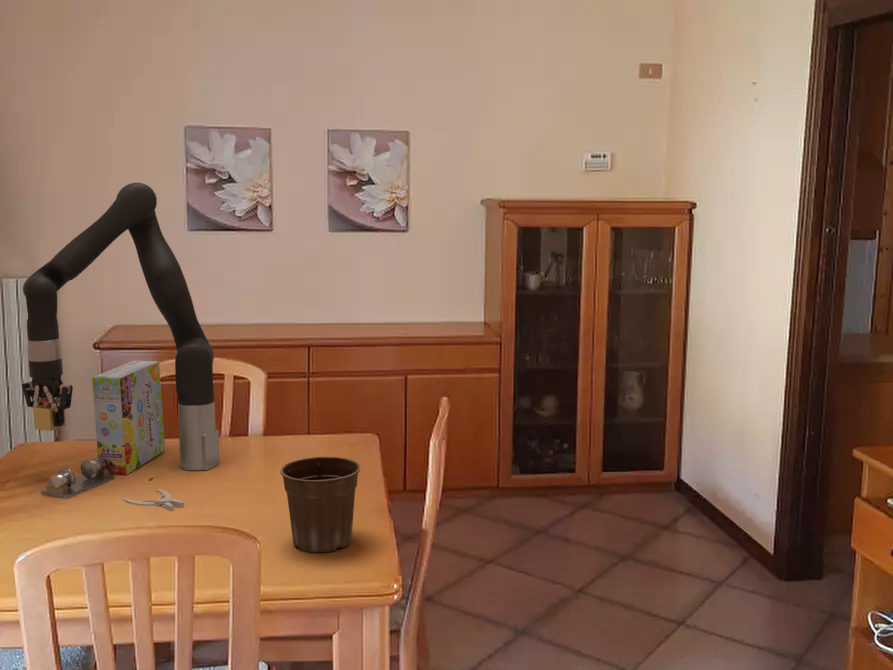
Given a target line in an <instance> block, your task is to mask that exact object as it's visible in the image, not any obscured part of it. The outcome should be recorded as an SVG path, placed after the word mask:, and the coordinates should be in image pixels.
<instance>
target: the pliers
mask: <svg viewBox="0 0 893 670" xmlns="http://www.w3.org/2000/svg"><path fill="white" fill-rule="evenodd" d="M155 491H156V492H158V493H160V494H161V495H160V496H159V497H158V499H156V500H152V499H151V500H149V499H148V500H146V499H145V500H139V501H138V500H133V499H129V498H127V497H126V498H125V497H124V498H122V500H123V502H125V503H127V504H131V505H136V506H144V507H147V506H148V507H150V506H153V507H160V506H161V507H162V508H163V509H164V510H168V511H170V512H173V511H174V510H175V509H174V508H179V509H183V508H185V505H184V503H185V502H184V501H182V500H178V499H175V498H172V496H171V494H170V493H169V492H168V491H166V490H163V489H159V488H156V489H155Z"/></svg>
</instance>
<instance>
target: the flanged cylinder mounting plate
mask: <svg viewBox="0 0 893 670" xmlns="http://www.w3.org/2000/svg"><path fill="white" fill-rule="evenodd" d="M79 470H80V473H81V474H80V475H78V476H76V474H75V472H74V471H73V470H72V468H69V467H64V468H61V469H60V470H59V471H58V472H57V474H54V475H52V476H49V478H48V484H46V486H45V489H43V490H41V491H40V494H41V495H43V496H49V497H50V496H51V497H56V498H63V499H70V498H72V497H75V496H77V495H79V494H82V493H84V492H87V491H89V490H92V489H94V488H95V487H98V486H101V485H102V484H105V483H108V482H110V481H112V480H115V475H114V474H109V469H106V463H105V461H104V460H103V459H102V458H98V457H97V458H96V459H93V460H92V459H91V458H90V459H88V458H87V459H84V460H83V461H81V463H80V467H79Z"/></svg>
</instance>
